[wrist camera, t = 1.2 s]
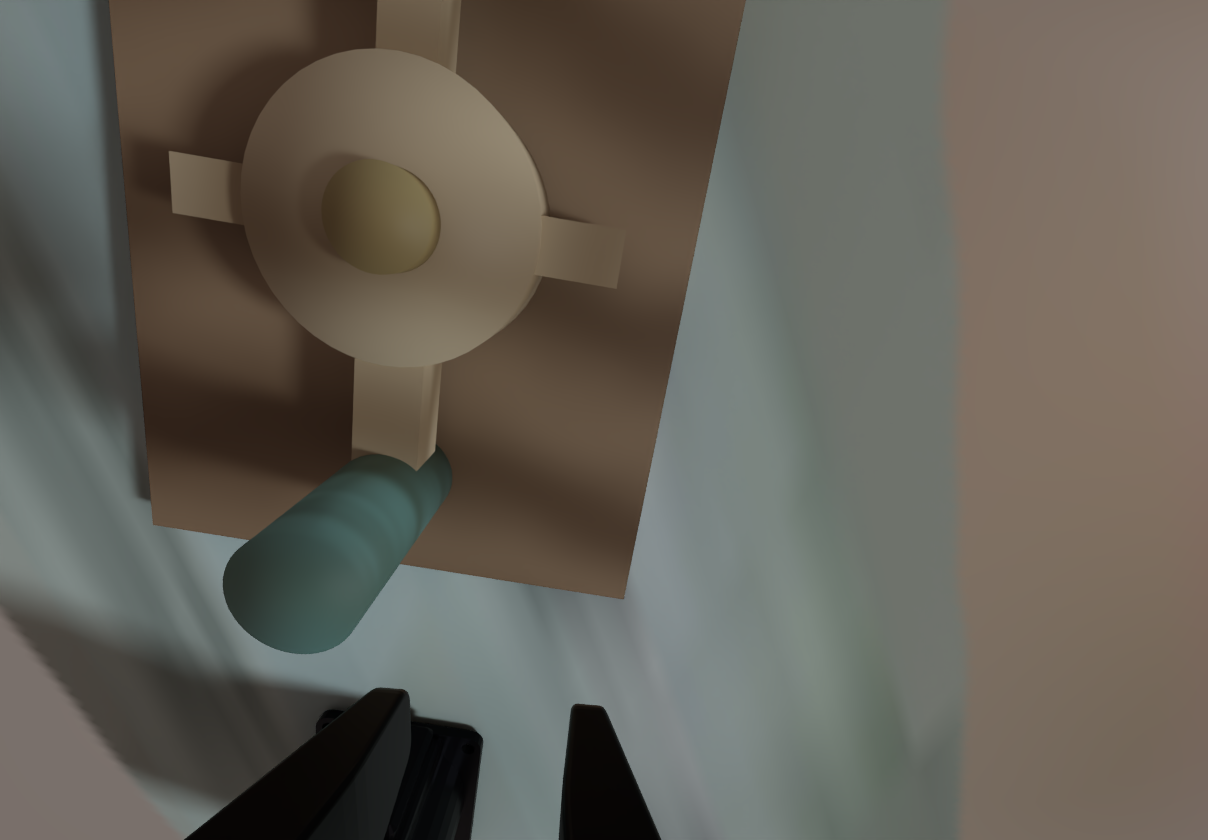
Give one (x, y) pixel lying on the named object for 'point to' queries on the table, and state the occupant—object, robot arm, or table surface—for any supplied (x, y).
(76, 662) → the table surface
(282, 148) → the capstan
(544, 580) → the stand
